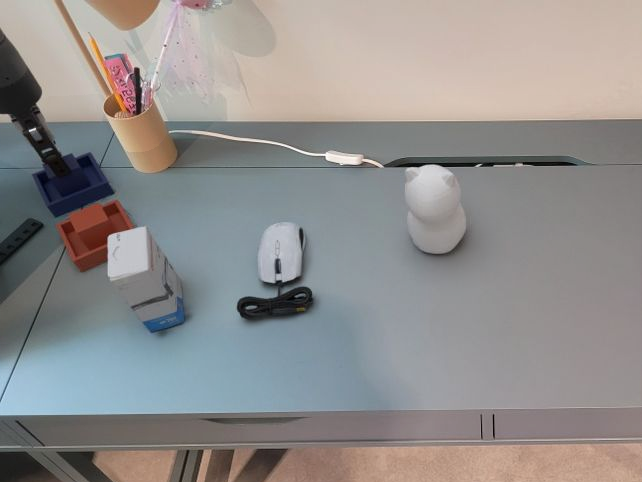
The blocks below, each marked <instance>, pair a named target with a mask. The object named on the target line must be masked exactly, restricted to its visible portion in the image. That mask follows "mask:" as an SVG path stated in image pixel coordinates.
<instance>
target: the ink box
mask: <svg viewBox="0 0 642 482" xmlns="http://www.w3.org/2000/svg"><path fill="white" fill-rule="evenodd" d="M107 277H108V278H109V282H110V283H111V284H112V285H113V287H114V288H115V289H116V290H117V292H118V293H119V294H120V295H121V297H122V298H123V299H124V301H125V302H126V304H127V305H128V306H129V308H130V309H131V310H132V311H133V312H134V314H135V315H136V316H137V318H138V319H139V320H140V321H141V323H142V324H143V326H144V327H145V328H146V329H147V331H148V332H149V333H154V332H157V331H161V330H164V329H168V328H172V327H175V326H177V325H180V324H182V323H185V312H184V302H183V290H182V289H183V288H182V278H181V277H180V276H179V274H178V272H177V271H176V270H175V268H174V266H173V265H172V264H171V262H170V261H169V259H168V258H167V256H166V254H165V253H164V251H163V250H162V248H161V247H160V245H159V244H158V242H157V241H156V239H155V238H154V236H153V234H152V233H151V231H150V229H149V228H148V227H147V225H143V226H138V227H134V229H131V230H127V231H123V232H119V233H114V234H111V235H109V236H108V260H107Z"/></svg>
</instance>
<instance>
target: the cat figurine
mask: <svg viewBox="0 0 642 482" xmlns="http://www.w3.org/2000/svg"><path fill="white" fill-rule="evenodd" d="M404 177H405V179H406V182H405V185H404V202H405V205H406V207H407V209H408V213H407V216H406V226H407V229H408V234H409V236H410V238H411V240H412V242H413V244H414V245H415V246H416V247H417V248H418V249H419V250H420V251H422V252H425V253H428V254H435V255H436V254H437V255H438V254H439V255H440V254H447V253H449V252H452V251H453V249H455V247H456V246H457V245H459V243H460V241H461V240H462V238H463V237H464V235H465V233H466V230H467V217H466V211H465V210H464V207H463V205H462V204H461V200H462V199H461V198H462V189H461V186H460V184H459V181H458V179H457V178H456V176H455V175H454V173H453V172H451V171H450V170H449V169H448V168H445V167H443V166H441V165H438V164H425V165H422V166H419V167H415V166H414V167H413V166H412V167H407V168H406V169H405V170H404Z"/></svg>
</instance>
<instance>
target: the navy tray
mask: <svg viewBox="0 0 642 482" xmlns="http://www.w3.org/2000/svg"><path fill="white" fill-rule="evenodd" d="M75 159H76V160H77V162H78V163H79V165H80V166H81V168H82V169H83V171H84V172H85V174H86V176H87V178H88V180H89V181H90V183H91V185H92V186H90V187H88V188H85V189H83V190H80V191H78V192H75V193H73V194H70V195H68V196H65V197H63V198H62V196H61V195H60V194H59V192H58V191H57V189H56V188H55V187H54V185H53V184H52V182H51V181H50V180H49V178H48V176H47V174H46V171H45V169H44V168H43V169H42V170H39V171H36V172H34V173H32V174H31V176H32V178H33V181H34V182H35V184H36V187H37V189H38V191H39V193H40V196H41V197H42V199H43V201H44V204H45V206H46V207H47V209H48V210H49V212H50V213H51V214H52V215H53V217H54V218H57V217H58V218H59V216H63V215H65V214H68V213H69V212H71V211H74V210H77V209H79V208H82V207H85V206H87V205H89V204H92V203H94V202H97V201H99V200H102V199H104V198H107V197H109V196H111V195H114V194H115V191H114V190H113V188H112V186H111V183H110V182H109V181H108V179H107V177H106V175H105V174H104V172H103V170H102V168H101V167H100V165H99V163H98V162H97V160H96V158H95V156H94V155H93V153H92V151H90V152H87V153H84V154H82V155H78V156H76V157H75Z"/></svg>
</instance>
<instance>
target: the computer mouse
mask: <svg viewBox="0 0 642 482" xmlns="http://www.w3.org/2000/svg"><path fill="white" fill-rule="evenodd" d="M306 239H307V238H306V233H305V230H304V228H303V227H302V225H301V226H300V225H299V224H298V223H295V222H291V221H289V222H288V221H287V222H286V221H283V222H277V223H274V224H271V225H270V226H268V227H267V228H266V229H265V230H264V232H263V234H262V236H261V239H260V242H259V247H258V251H257V256H256V259H257V260H256V261H257V262H256V263H257V264H256V265H257V274H258V280H259V281H261V282H265V283H270V284H276V283H277V295H276V296H274V297H268V298H264V297H257V296H251V295H250V296H249V295H248V296H243V297H241V298H239V299H238V300H237V302H236V311H237V312H238V314H239V316H240V318H242V319H245V320H250V319H254V318H255V317H259V316H262V315H267V316H272V315H273V316H274V315H275V316H276V315H291V314H296V313H297V312H305V311H306V305H309V304H310V303H312V302H313V301H314V298H313V291H312V289H311V288H310V287H308V286H304V285H303V286H302V285H301V286H297V287H294V288H291V289H290V290H288V291H286V292H284V293H281V288H282V287H283V283H287V282H289V281H293V280H294V279H296V278H298V277H301V276H302V269H303V268H302V267H303V266H302V265H303V255H304V252H305V249H306V243H307V241H306ZM298 295H299V296H298ZM302 295H305V296H302ZM296 296H297V297H296ZM248 307H253V308H248Z"/></svg>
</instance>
